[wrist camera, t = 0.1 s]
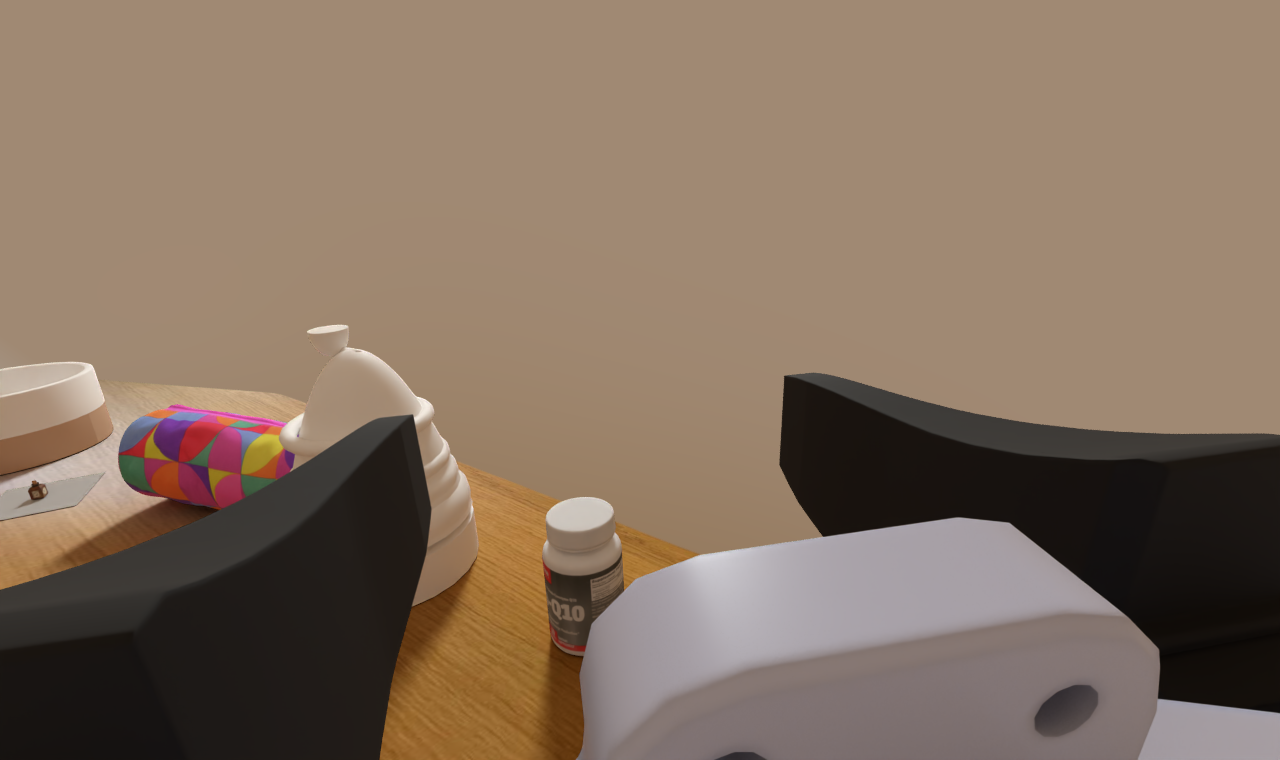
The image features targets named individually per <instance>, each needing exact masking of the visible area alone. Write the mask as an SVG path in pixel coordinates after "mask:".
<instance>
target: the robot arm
mask: <svg viewBox="0 0 1280 760" xmlns="http://www.w3.org/2000/svg"><path fill="white" fill-rule="evenodd" d="M780 467H781V469H782V471H783V473H784V475H785V477H786V479H787V482H788V484H789V486H790V488H791V489H792V491H793V493H794V495H795V497H796V499H797V500H798V502H799V504H800V505H801V507H802V508H803V510H804V511H805V512H806V514H807V515H808V517H809V518H810V519H811V521H812V522H813V524H814V525H815V526H816V528H817V529H818V530H819V532H820V533H821V534H822V536H823V537H820V538H813V539H807V540H800V541H793V542H786V543H779V544H772V545H766V546H759V547H752V548H746V549H738V550H731V551H725V552H718V553H711V554H704V555H699V556H696V557H693V558H691V559H688V560H685V561H683V562H680V563H677V564H675V565H672V566H669V567H667V568H664V569H661V570H659V571H656V572H653V573H650V574H648V575H645V576H642V577H640V578H637V579H636V580H635V581H634V582H633V583H632V584H631V585H630V586H629V587H628V588H627V589H626V590H625V591H624V592H623V593H622V594H621V595H620V596H619V597H618V598H617V599H616V600H615V601H614V602H613V603H612V604H611V605H610V606H609V607H608V608H607V609H606V610H605V611H604V612H603V613H602V614H601V615H600V616H599V617H598V618H597V619H596V620H595V621H594V622H593V623H592V625H591V629H590V633H589V637H588V641H587V645H586V649H585V653H584V658H583V662H582V666H581V670H580V674H579V675H580V685H581V695H582V705H583V715H584V737H583V747H582V750H581V752H580V754H579V756H578V758H577V759H576V760H1280V435H1274V434H1156V433H1155V434H1154V433H1133V432H1114V431H1099V430H1087V429H1086V430H1085V429H1076V428H1067V427H1059V426H1050V425H1040V424H1033V423H1026V422H1019V421H1013V420H1007V419H1002V418H996V417H991V416H985V415H979V414H974V413H970V412H965V411H960V410H956V409H952V408H947V407H944V406H940V405H936V404H932V403H927V402H924V401H920V400H916V399H913V398H909V397H906V396H902V395H899V394H895V393H892V392H888V391H885V390H882V389H878V388H875V387H872V386H868V385H865V384H862V383H858V382H855V381H851V380H847V379H844V378H840V377H836V376H831V375H827V374H821V373H806V374H797V375H787V376H784V393H783V410H782V428H781V446H780ZM431 511H432V508H431V503H430V497H429V492H428V487H427V482H426V477H425V472H424V467H423V462H422V457H421V452H420V447H419V441H418V436H417V431H416V426H415V421H414V416H413V414H411V415H401V416H392V417H382V418H377V419H375V420H372V421H370V422H368V423H367V424H365V425H363V426H362V427H360V428H358V429H357V430H355V431H354V432H352V433H350V434H349V435H347V436H346V437H344V438H343V439H341V440H340V441H338V442H337V443H335V444H334V445H332V446H330V447H329V448H327V449H326V450H324V451H323V452H321V453H320V454H318V455H317V456H315V457H314V458H312V459H310V460H309V461H307V462H306V463H304V464H302V465H301V466H299V467H297V468H296V469H294V470H292V471H291V472H289V473H287V474H285V475H284V476H282V477H280V478H279V479H277V480H275V481H274V482H272V483H270V484H269V485H267V486H265V487H264V488H262V489H260V490H258V491H256V492H254V493H253V494H251V495H249V496H247V497H245V498H243V499H241V500H239V501H237V502H235V503H233V504H231V505H229V506H227V507H225V508H223V509H221V510H219V511H217V512H215V513H212V514H210V515H208V516H206V517H204V518H202V519H200V520H197V521H195V522H193V523H191V524H188V525H186V526H183V527H181V528H178V529H176V530H173V531H171V532H168V533H166V534H163V535H161V536H158V537H156V538H153V539H151V540H148V541H146V542H143V543H141V544H138V545H136V546H134V547H131V548H129V549H126V550H123V551H120V552H118V553H115V554H112V555H109V556H106V557H103V558H100V559H97V560H95V561H92V562H89V563H86V564H83V565H80V566H77V567H74V568H71V569H68V570H64V571H61V572H58V573H55V574H52V575H49V576H45V577H42V578H39V579H36V580H33V581H29V582H26V583H22V584H19V585H16V586H12V587H9V588H5V589H2V590H0V760H379V758H380V751H381V744H382V737H383V731H384V725H385V719H386V713H387V707H388V701H389V694H390V688H391V683H392V678H393V674H394V669H395V665H396V661H397V657H398V653H399V650H400V646H401V643H402V639H403V636H404V632H405V629H406V625H407V621H408V618H409V614H410V611H411V607H412V604H413V600H414V597H415V593H416V590H417V586H418V583H419V579H420V575H421V572H422V568H423V564H424V561H425V557H426V553H427V545H428V538H429V530H430V520H431Z"/></svg>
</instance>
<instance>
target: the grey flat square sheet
mask: <svg viewBox="0 0 1280 760" xmlns="http://www.w3.org/2000/svg"><path fill="white" fill-rule="evenodd" d="M104 473H105V472H104ZM104 473H99V474H93V475H88V476H82V477H77V478H72V479H66V480H61V481H55V482H50V483H44V484H39V482H36V481H32V483H33V484H31V486H28V487H22V488H17V489H12V490H7V491H6V492H4V493H3V494H2V495H1V496H0V520H5V519H10V518H15V517H20V516H25V515H30V514H35V513H40V512H45V511H50V510H55V509H60V508H65V507H70V506H75V505H77V504H78V503H79V502H80V500H81V499H82V498H83V497H84V496H85V495H86V494H87V493H88V491H89V490H90V489H91V488H92V487H93V486H94V485H95V484H96V482H97V481H98V480H99V479H100V478H101V477H102V476H103V474H104Z"/></svg>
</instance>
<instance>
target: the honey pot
mask: <svg viewBox="0 0 1280 760" xmlns="http://www.w3.org/2000/svg"><path fill="white" fill-rule="evenodd" d="M307 335H308V338H309V340H310V342H311V344H312V345H313V346H314V348H315V349H316V350H317V351H318V352H319V353H321V354H323V355H325V356H329V357H333V356H334V357H333V358H332V359H331V360H330V361H329V362H328V363H327V364H326V365H325V367H324V368H323V370H322V371H321V373H320V374H319V376H318V378H317V380H316V382H315V384H314V387H313V389H312V392H311V394H310V397H309V400H308V403H307V406H306V409H305V413H303V414H301V415H299V416H297V417H296V418H294V419H292V420H291V421H289V422H288V423H287V424H286V425H285V426H284V427H283V428H282V430H281V433H280V435H279V441H280V443H281V445H282V446H283V448H284V449H285V450H287V451H289V452H291V453H293V454H295V458H294V464H293V468H292V469H291V471H292V470H294V469H296V468H297V467H299V466H301V465H302V464H304V463H306V462H307V461H309V460H310V459H312V458H314V457H315V456H317V455H318V454H320V453H321V452H323V451H324V450H326V449H327V448H329V447H330V446H332V445H334V444H335V443H337V442H338V441H340V440H341V439H343V438H344V437H346V436H347V435H349V434H350V433H352V432H354V431H355V430H357V429H358V428H360V427H362V426H363V425H365V424H367V423H368V422H370V421H372V420H375V419H377V418H382V417H392V416H401V415H411V414H413V416H414V421H415V426H416V431H417V436H418V441H419V447H420V452H421V457H422V462H423V467H424V472H425V477H426V482H427V487H428V492H429V497H430V503H431V508H432V511H431V520H430V530H429V538H428V545H427V553H426V557H425V561H424V564H423V568H422V572H421V575H420V579H419V583H418V586H417V590H416V593H415V597H414V600H413V604H412V606H415V605H417V604H419V603H421V602H424V601H426V600H428V599H430V598H433V597H435V596H436V595H438V594H439V593H441V592H442V591H444V590H446V589H447V588H449V587H450V586H452V585H453V584H455V583H456V582H457V581H458V580H459V579H460V578H461V577H462V576H463V575H464V574H465V573H466V572H467V571H468V570H469V569H470V567H471V565H472V564H473V562H474V561H475V559H476V557H477V552H478V547H479V543H478V536H477V529H476V522H475V516H474V509H473V506H472V499H471V496H470V494H471V490H470V487H469V484H468V481H467V479H466V476H465V474H464V473H463V472H461V471H460V470H459V469H458V466H457V463H456V460H455V458H454V456H452V455H451V454H450V449H449V446H448V443H447V441H446V440H445V439H443V438H442V437H441V436H440V434H439V433H438V431H437V429H436V427H435V426H434V424H433V422H432V419H433V417H434V415H435V412H434V409H433V406H432V404H431V403H430V402H428V401H427V400H425V399H423V398H420V397H416V396H415V395H414V394H413V393H412V391H411V390H410V388H409V387H408V386H407V385H406V384H405V382H404V381H403V380H402V379H401V378H400V376H399V375H397V373H395V371H394V370H393V369H392V368H391V367H389V366H388V365H387V364H386V363H385V362H384V361H382V360H381V359H379V358H378V357H376V356H375V355H373V354H371V353H369V352H366V351H364V350H359V349H353V348H346V346H347V343H348V339H349V329H348V326H347V325H330V326H323V327H318V328H314V329H311V330H308V331H307ZM298 434H299V437H297V435H298ZM291 471H290V472H291Z"/></svg>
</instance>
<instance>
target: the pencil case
mask: <svg viewBox="0 0 1280 760" xmlns="http://www.w3.org/2000/svg"><path fill="white" fill-rule="evenodd" d="M286 424H287V423H286V422H282V421H277V420H271V419H265V418H258V417H250V416H243V415H239V414H234V413H227V412H218V411H210V410H199V409H194V408H190V407H186V406H183V405H178V404H177V405H171V406H170V407H169V408H167V409H164V410H157V411H154V412H151V413H149V414H147V415H145V416H143V417H140V418H139V419H137V420H136V421H134V422H133V423H132V424H131V425H130V426H129V427H128V428H127V430H126V431H125V433H124V435H123V437H122V440H121V442H120V447H119V455H118V463H119V469H120V472H121V474H122V477H123V479H124V481H125V482H126V483H127V484H128V485H129V486H130V487H131V488H132V489H134V490H135V491H137V492H139V493H141V494H144V495H148V496H154V497H164V498H168V499H171V500H174V501H177V502H181V503H184V504H190V505H196V506H207V507H210V508H214V509H219V510H221V509H223V508H225V507H227V506H229V505H231V504H233V503H235V502H237V501H239V500H241V499H243V498H245V497H247V496H249V495H251V494H253V493H254V492H256V491H258V490H260V489H262V488H264V487H265V486H267V485H269V484H270V483H272V482H274V481H275V480H277V479H279V478H280V477H282V476H284V475H285V474H287V473H289V472H290V471H291V469H292V468H293V464H294V458H295V454H293V453H291V452H289V451H287V450H285V449H284V448H283V446H282V445H281V443H280V441H279V435H280V433H281V430H282V428H283V427H284V426H285V425H286ZM297 437H299V434H298V435H297Z"/></svg>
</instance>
